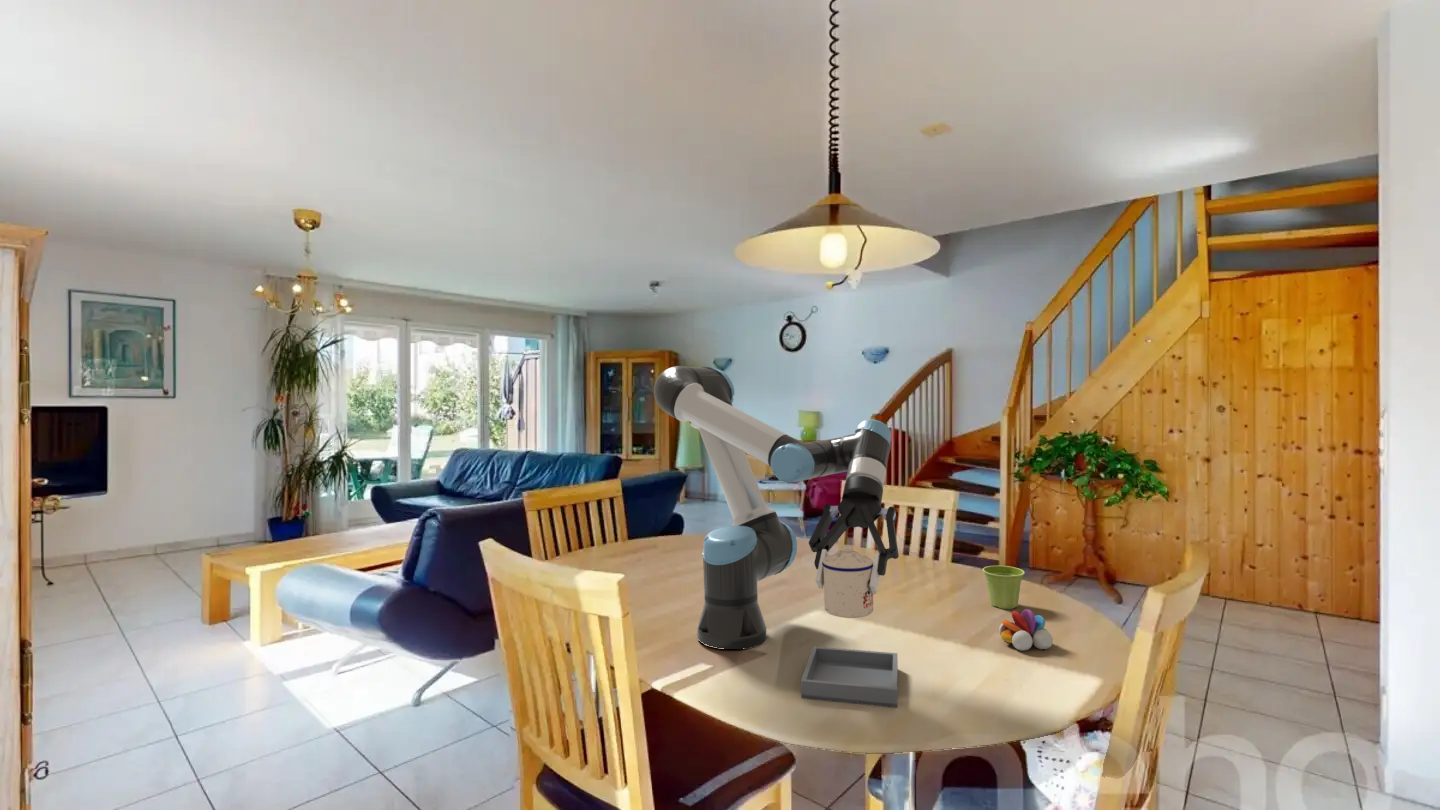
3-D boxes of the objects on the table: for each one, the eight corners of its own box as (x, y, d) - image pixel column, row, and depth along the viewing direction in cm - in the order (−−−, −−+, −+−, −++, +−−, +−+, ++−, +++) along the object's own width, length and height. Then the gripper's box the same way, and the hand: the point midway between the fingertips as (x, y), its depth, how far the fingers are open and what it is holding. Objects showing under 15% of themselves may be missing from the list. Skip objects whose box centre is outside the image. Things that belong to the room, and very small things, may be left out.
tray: (801, 698, 110) (800, 680, 110) (813, 661, 126) (813, 646, 126) (897, 708, 106) (896, 689, 106) (897, 668, 121) (897, 653, 121)
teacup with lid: (875, 620, 109) (874, 552, 109) (822, 618, 111) (820, 551, 111) (873, 598, 121) (871, 537, 121) (824, 597, 123) (823, 536, 123)
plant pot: (1030, 612, 152) (1029, 575, 151) (989, 611, 153) (988, 575, 153) (1018, 600, 161) (1017, 565, 161) (979, 599, 162) (978, 565, 162)
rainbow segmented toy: (992, 638, 136) (991, 604, 136) (1036, 636, 137) (1035, 602, 137) (1013, 654, 127) (1012, 617, 127) (1060, 651, 128) (1059, 615, 128)
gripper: (923, 499, 125) (911, 604, 111) (816, 495, 134) (792, 591, 120) (918, 475, 120) (905, 582, 106) (807, 472, 130) (782, 570, 115)
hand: (845, 587), depth 113 cm, fingers closed on teacup with lid, 9 cm apart
